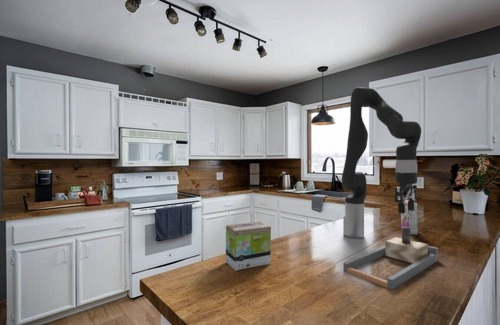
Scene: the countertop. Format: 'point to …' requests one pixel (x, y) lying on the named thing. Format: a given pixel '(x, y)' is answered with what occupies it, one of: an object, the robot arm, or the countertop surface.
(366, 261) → the frame
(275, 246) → the countertop surface
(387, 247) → the beige block
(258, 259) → the tea box
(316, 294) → the countertop surface
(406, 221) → the candy bar box
